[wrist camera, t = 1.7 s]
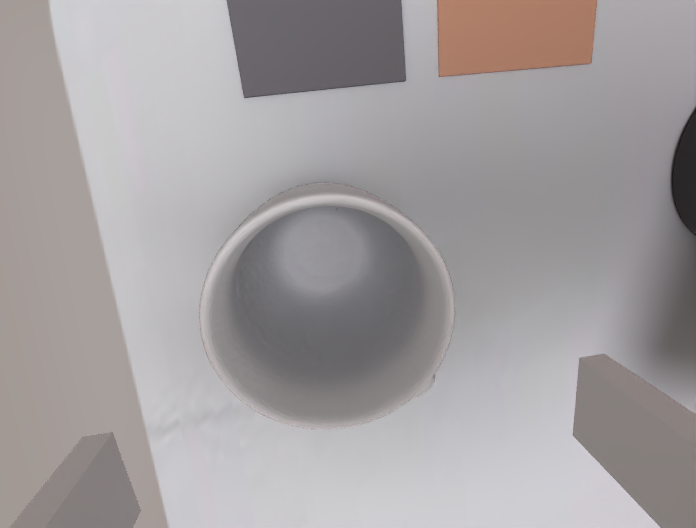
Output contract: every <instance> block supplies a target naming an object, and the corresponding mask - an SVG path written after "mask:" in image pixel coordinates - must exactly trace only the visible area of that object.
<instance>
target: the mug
mask: <svg viewBox="0 0 696 528" xmlns="http://www.w3.org/2000/svg"><path fill="white" fill-rule="evenodd" d="M199 319H200V330H201V336H202V340H203V344H204V347H205V351H206V354H207V356H208V358H209V360H210V363H211V364H212V366H213V368H214V370H215V371H216V373H217V374H218V376H219V377H220V379H221V380H222V381H223V383H224V384H225V385H226V386H227V387H228V389H229V390H230V391H231V392H232V393H233V394H234V395H235V396H236V397H237V398H239V399H240V400H241V401H242V402H243V403H245V404H246V405H248V406H249V407H250V408H252V409H254V410H255V411H257V412H258V413H260V414H262V415H264V416H266V417H268V418H271V419H273V420H276V421H278V422H281V423H284V424H288V425H292V426H296V427H302V428H311V429H335V428H345V427H351V426H356V425H359V424H363V423H367V422H370V421H372V420H375V419H378V418H381V417H383V416H385V415H387V414H389V413H391V412H392V411H394V410H396V409H397V408H399V407H400V406H402V405H403V404H405V403H407V402H408V401H409V400H410V399H412V398H413V397H416V396H419V395H421V394H423V393H424V392H426V391H427V390H428V389H429V388H430V387H431V386H432V385H433V383H434V381H435V372H436V371H437V369H438V368H439V366H440V364H441V362H442V360H443V359H444V357H445V354H446V352H447V349H448V347H449V344H450V340H451V337H452V332H453V328H454V321H455V298H454V291H453V286H452V282H451V277H450V274H449V272H448V269H447V267H446V264H445V262H444V260H443V258H442V256H441V254H440V253H439V251H438V249H437V248H436V247H435V245H434V244H433V243H432V241H431V240H430V238H429V237H428V236H427V235H426V234H425V233H424V232H423V231H422V230H421V229H420V228H419V227H418V226H417V225H416V224H415V223H414V222H413V221H412V220H410V219H409V218H407V217H406V216H405V215H403V213H401V212H399V211H398V210H396V209H395V208H394V207H393V206H392V205H390V204H388V203H387V202H386V201H384V200H381V199H380V198H378V197H376V196H374V195H372V194H370V193H368V192H367V191H363V190H360V189H358V188H354V187H352V186H347V185H341V184H337V183H328V182H325V183H314V184H307V185H305V186H297V187H295V188H292V189H289V190H288V191H286V192H282V193H280V194H279V195H277V196H276V197H274V198H271V199H270V200H269V201H268V202H266V203H265V204H263V205H262V206H260V207H259V208H258V209H257V210H255V211H254V212H253V213H252V214H250V215H249V216H248V218H247V219H246V220H244V222H243V223H242V224H240V225H239V227H238V228H237V229H236V230H235V231H234V233H233V234H232V235H231V236H230V237H229V238H228V239H227V240H226V242H225V243H224V244H223V246H222V247H221V248H220V250H219V252H218V253H217V255H216V256H215V258H214V260H213V262H212V264H211V266H210V269H209V271H208V273H207V276H206V279H205V282H204V285H203V289H202V294H201V300H200V312H199Z"/></svg>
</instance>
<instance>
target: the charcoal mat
mask: <svg viewBox="0 0 696 528" xmlns="http://www.w3.org/2000/svg"><path fill="white" fill-rule="evenodd" d="M227 4H228V9H229V15H230V21H231V26H232V32H233V37H234V43H235V49H236V54H237V60H238V66H239V71H240V77H241V83H242V88H243V94H244V98H247V97H257V96H266V95H276V94H286V93H295V92H305V91H314V90H324V89H334V88H343V87H353V86H363V85H372V84H382V83H391V82H401V81H406V73H405V56H404V39H403V22H402V6H401V0H227Z"/></svg>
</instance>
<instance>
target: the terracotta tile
mask: <svg viewBox="0 0 696 528" xmlns="http://www.w3.org/2000/svg"><path fill="white" fill-rule="evenodd" d="M596 7H597V0H437V8H438V55H439V77H442V76H454V75H465V74H477V73H489V72H500V71H512V70H523V69H535V68H546V67H558V66H569V65H581V64H590V63H591V62H592V51H593V40H594V29H595V18H596Z"/></svg>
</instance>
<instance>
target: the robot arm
mask: <svg viewBox="0 0 696 528" xmlns="http://www.w3.org/2000/svg"><path fill="white" fill-rule="evenodd" d="M673 189H674V197H675V202H676V206H677V209H678V211H679V214H680V216H681V218H682V220H683V221H684V223H685V224H686V226H687V227H688V228H689V229H690V230H691V231H692V232H693V233H694V234H695V235H696V111H695V113H694V114H693V116H692V118H691V120H690V121H689V123H688V125H687V127H686V129H685V132H684V134H683V136H682V139H681V142H680V144H679V148H678V151H677V155H676V159H675V165H674V173H673ZM573 436H574V437H575V438H576V439H577V440H578V441H579V442H580V443H581V444H582V445H583V447H584V448H585V449H586V450H587V451H588V452H589V453H590V454H591V455H592V456H593V457H594V458H595V459H596V460H597V461H598V462H599V463H600V464H601V465H602V466H603V467H604V469H605V470H606V471H607V472H608V473H609V474H610V475H611V476H612V477H613V478H614V479H615V480H616V481H617V482H618V483H619V484H620V485H621V486H622V487H623V488H624V490H625V491H626V492H627V493H628V494H629V495H630V496H631V497H632V498H633V499H634V500H635V501H636V502H637V503H638V504H639V505H640V506H641V507H642V508H643V509H644V510H645V512H646V513H647V514H648V515H649V516H650V517H651V518H652V519H653V520H654V521H655V522H656V523H657V524H658V525H659V526H660V527H661V528H696V414H694V413H693V412H691V411H690V410H688V409H687V408H685V407H684V406H682V405H681V404H679V403H678V402H676V401H675V400H673V399H672V398H670V397H669V396H667V395H666V394H664V393H663V392H661V391H660V390H658V389H656V388H655V387H653V386H652V385H650V384H649V383H647V382H646V381H644V380H643V379H641V378H640V377H638V376H637V375H635V374H634V373H632V372H631V371H629V370H628V369H626V368H625V367H623V366H622V365H620V364H619V363H617V362H616V361H614V360H613V359H611V358H610V357H608V356H607V355H605V354H601V355H594V356H588V357H582V358H579V369H578V381H577V392H576V404H575V415H574V426H573ZM140 511H141V510H140V507H139V504H138V501H137V499H136V496H135V493H134V490H133V488H132V485H131V482H130V479H129V477H128V474H127V471H126V468H125V466H124V463H123V460H122V457H121V454H120V452H119V449H118V446H117V443H116V440H115V438H114V435H113V432H111V433H104V434H98V435H92V436H86V437H82V438H81V440H80V441H79V442H78V443H77V445H76V446H75V447H74V448H73V450H72V451H71V452H70V453H69V454H68V456H67V457H66V458H65V459H64V461H63V462H62V463H61V464H60V466H59V467H58V468H57V469H56V470H55V472H54V473H53V474H52V476H51V477H50V478H49V479H48V480H47V482H46V483H45V484H44V485H43V487H42V488H41V489H40V490H39V492H38V493H37V494H36V495H35V496H34V498H33V499H32V500H31V501H30V503H29V504H28V505H27V506H26V508H25V509H24V510H23V511H22V513H21V514H20V515H19V516H18V517H17V519H16V520H15V521H14V522H13V524H12V525H11V526H10V527H9V528H133V526H134V524H135V522H136V520H137V517H138V515H139V513H140Z"/></svg>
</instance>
